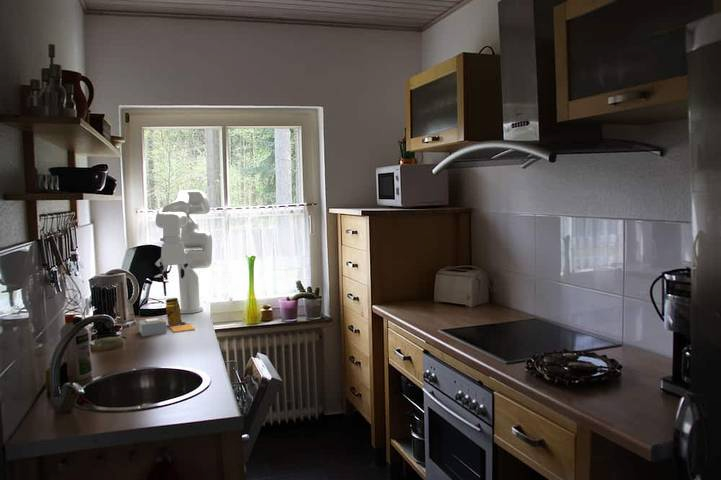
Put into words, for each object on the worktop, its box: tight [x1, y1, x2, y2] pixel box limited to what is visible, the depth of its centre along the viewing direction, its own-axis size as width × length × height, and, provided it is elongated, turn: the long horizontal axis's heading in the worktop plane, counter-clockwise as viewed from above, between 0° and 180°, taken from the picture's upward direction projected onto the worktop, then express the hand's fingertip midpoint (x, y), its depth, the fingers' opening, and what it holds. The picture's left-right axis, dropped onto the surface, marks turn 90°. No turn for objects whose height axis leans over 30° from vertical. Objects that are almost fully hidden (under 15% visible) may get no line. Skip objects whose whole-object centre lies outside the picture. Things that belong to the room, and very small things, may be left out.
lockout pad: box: [169, 323, 196, 333], centre depth 269 cm, size 11×9×1 cm
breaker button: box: [144, 317, 159, 323], centre depth 264 cm, size 5×5×4 cm
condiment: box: [165, 297, 188, 327], centre depth 278 cm, size 7×8×12 cm
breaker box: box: [138, 317, 167, 337], centre depth 264 cm, size 10×10×5 cm
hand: (174, 278), depth 276 cm, fingers open, 6 cm apart
